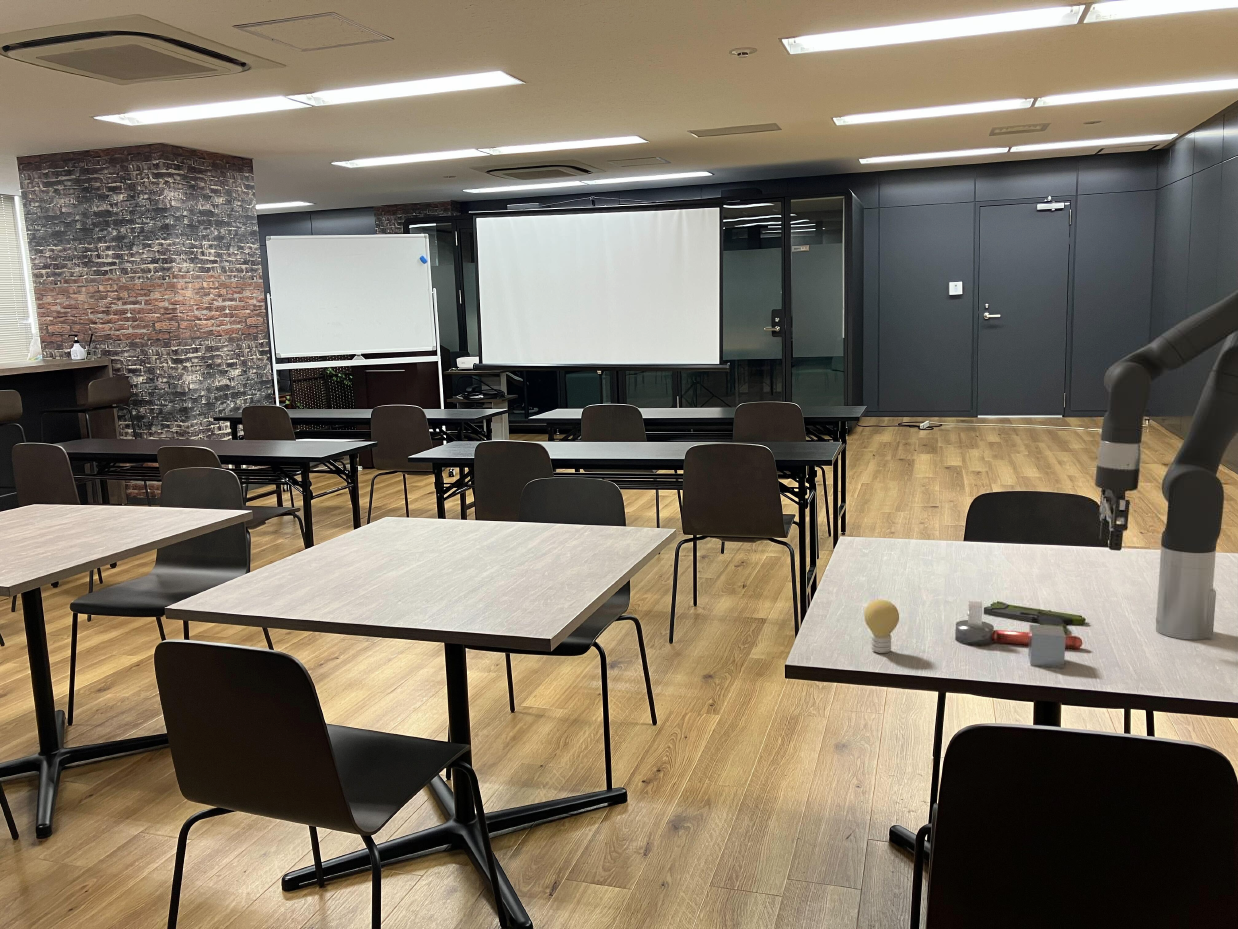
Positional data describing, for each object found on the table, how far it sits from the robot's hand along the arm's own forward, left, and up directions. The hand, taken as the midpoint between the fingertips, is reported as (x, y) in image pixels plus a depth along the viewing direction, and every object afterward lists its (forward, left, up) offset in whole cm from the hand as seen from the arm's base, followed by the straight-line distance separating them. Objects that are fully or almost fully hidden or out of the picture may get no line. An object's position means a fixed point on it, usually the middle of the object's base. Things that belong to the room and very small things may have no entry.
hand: (1110, 545), depth 189 cm
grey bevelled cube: (+13, +23, -17) cm, 32 cm away
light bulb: (+42, +25, -17) cm, 52 cm away
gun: (+14, -1, -18) cm, 23 cm away
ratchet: (+17, +14, -17) cm, 28 cm away
